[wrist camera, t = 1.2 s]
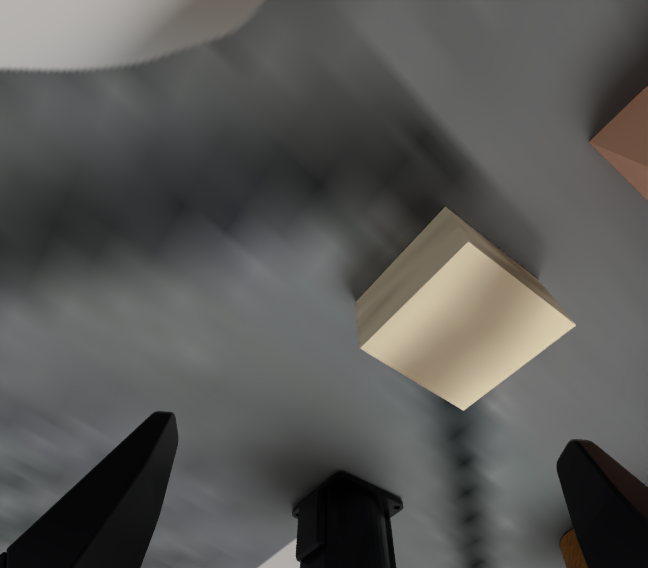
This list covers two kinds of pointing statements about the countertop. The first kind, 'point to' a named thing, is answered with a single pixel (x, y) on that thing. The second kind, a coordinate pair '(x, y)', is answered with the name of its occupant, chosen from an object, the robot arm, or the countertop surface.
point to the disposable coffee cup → (572, 551)
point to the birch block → (457, 313)
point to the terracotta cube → (628, 142)
